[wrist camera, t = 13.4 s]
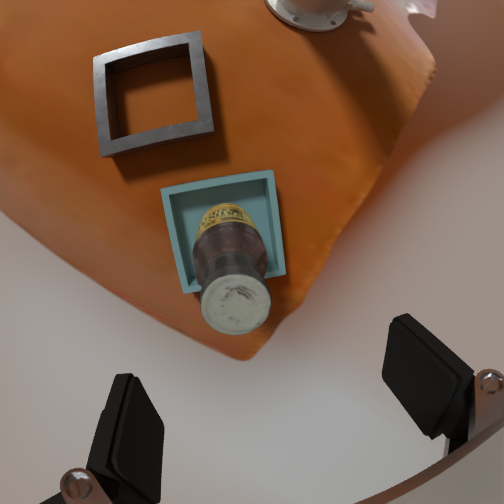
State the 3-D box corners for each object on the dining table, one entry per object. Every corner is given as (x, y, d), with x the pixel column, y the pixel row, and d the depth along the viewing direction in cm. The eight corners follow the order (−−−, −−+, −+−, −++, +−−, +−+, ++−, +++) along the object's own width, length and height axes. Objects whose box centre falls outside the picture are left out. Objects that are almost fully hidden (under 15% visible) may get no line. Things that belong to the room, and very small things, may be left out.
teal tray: (266, 169, 34) (273, 169, 30) (279, 265, 37) (285, 274, 34) (165, 187, 32) (160, 189, 29) (185, 282, 36) (183, 293, 33)
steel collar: (201, 43, 27) (200, 30, 24) (213, 135, 31) (214, 130, 28) (103, 67, 26) (93, 57, 22) (112, 157, 30) (100, 157, 26)
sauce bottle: (235, 191, 33) (270, 223, 14) (259, 235, 35) (316, 313, 16) (187, 219, 33) (161, 285, 14) (214, 261, 35) (222, 364, 16)
